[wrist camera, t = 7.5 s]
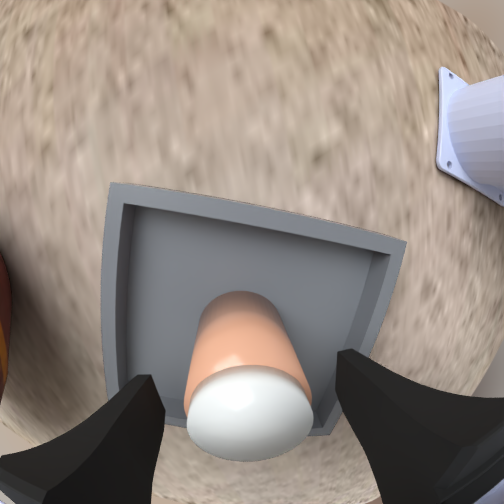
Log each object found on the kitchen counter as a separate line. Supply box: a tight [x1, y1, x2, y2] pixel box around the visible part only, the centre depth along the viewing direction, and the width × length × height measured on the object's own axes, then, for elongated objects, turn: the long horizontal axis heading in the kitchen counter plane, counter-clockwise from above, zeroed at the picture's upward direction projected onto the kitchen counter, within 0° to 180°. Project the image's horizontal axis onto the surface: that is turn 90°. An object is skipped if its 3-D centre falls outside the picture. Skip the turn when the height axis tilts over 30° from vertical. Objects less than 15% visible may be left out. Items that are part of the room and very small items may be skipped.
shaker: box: [184, 291, 313, 462], centre depth 11 cm, size 4×4×7 cm
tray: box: [101, 182, 407, 436], centre depth 14 cm, size 14×13×2 cm
